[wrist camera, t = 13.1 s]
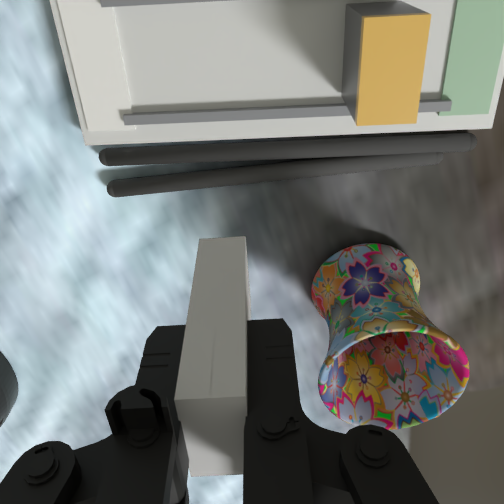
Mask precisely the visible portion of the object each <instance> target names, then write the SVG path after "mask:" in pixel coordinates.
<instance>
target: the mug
mask: <svg viewBox="0 0 504 504" xmlns="http://www.w3.org/2000/svg"><path fill="white" fill-rule="evenodd" d="M419 289H420V276H419V272H418V269H417V267H416V265H415V264H414V262H413V261H412V260H411V259H410V258H409V257H408V256H407V255H406V254H405V253H403V252H402V251H400V250H398V249H396V248H394V247H391V246H388V245H384V244H377V243H365V244H359V245H354V246H351V247H348V248H345V249H343V250H341V251H339V252H337V253H335V254H334V255H332V256H331V257H330V258H328V259H327V260H326V261H325V262H324V263H323V264H322V265H321V267H320V268H319V269H318V271H317V273H316V275H315V277H314V279H313V283H312V289H311V294H312V300H313V303H314V306H315V308H316V309H317V311H318V312H319V314H320V315H321V316H322V317H323V318H324V319H325V320H326V321H327V324H328V327H329V334H330V340H329V348H328V352H327V356H326V358H325V361H324V363H323V365H322V367H321V370H320V373H319V378H318V388H319V393H320V397H321V399H322V401H323V403H324V404H325V406H326V407H327V408H328V410H329V411H330V412H331V413H333V414H334V415H335V416H336V417H338V418H339V419H341V420H343V421H345V422H347V423H349V424H352V425H355V426H359V425H368V424H372V425H376V426H380V427H384V428H386V429H387V430H392V429H401V428H406V427H411V426H414V425H418V424H420V423H423V422H426V421H428V420H430V419H432V418H436V417H439V416H440V415H441V413H443V412H444V411H446V410H447V409H448V408H449V407H451V406H452V405H453V404H454V403H455V402H456V401H457V400H458V398H459V397H460V396H461V394H462V393H463V391H464V390H465V388H466V385H467V383H468V379H469V362H468V359H467V356H466V354H465V352H464V350H463V349H462V348H461V346H460V345H459V344H458V343H457V342H456V341H455V340H454V339H453V338H451V337H450V336H449V335H447V334H445V333H444V332H442V331H441V330H440V329H438V328H437V327H436V326H435V325H434V324H433V323H432V322H431V321H430V320H429V319H428V318H427V317H426V315H425V314H424V312H423V311H422V309H421V307H420V304H419V301H418V293H419Z"/></svg>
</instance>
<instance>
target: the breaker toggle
mask: <svg viewBox="0 0 504 504" xmlns="http://www.w3.org/2000/svg"><path fill="white" fill-rule="evenodd" d="M430 22H431V14H430V13H428V12H425V11H423V10H421V9H419V8H416V7H414V6H412V5H409V4H407V3H405V2H403V1H388V2H370V3H351V4H346V13H345V33H344V52H343V72H342V92H341V96H342V98H343V100H344V102H345V104H346V106H347V108H348V110H349V112H350V114H351V116H352V118H353V120H354V122H355V124H356V126H369V125H393V124H416V123H417V115H418V108H419V101H420V94H421V87H422V79H423V72H424V65H425V58H426V50H427V43H428V36H429V29H430Z"/></svg>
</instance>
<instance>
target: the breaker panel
mask: <svg viewBox="0 0 504 504" xmlns="http://www.w3.org/2000/svg"><path fill="white" fill-rule="evenodd" d="M49 1H50V5H51V9H52V13H53V17H54V21H55V25H56V29H57V33H58V37H59V41H60V45H61V49H62V53H63V57H64V61H65V65H66V69H67V73H68V77H69V81H70V85H71V89H72V93H73V98H74V102H75V106H76V110H77V114H78V118H79V122H80V126H81V130H82V134H83V138H84V142H85V146H87V145H111V144H135V143H158V142H182V141H205V140H229V139H253V138H276V137H300V136H323V135H347V134H371V133H394V132H418V131H441V130H465V129H489V128H492V125H493V121H494V117H495V112H496V108H497V103H498V99H499V95H500V90H501V86H502V81H503V77H504V0H49ZM388 1H403V2H405V3H407V4H409V5H412V6H414V7H416V8H419V9H421V10H423V11H425V12H428V13H430V14H431V22H430V29H429V36H428V43H427V50H426V58H425V65H424V72H423V79H422V87H421V94H420V101H419V108H418V115H417V123H416V124H393V125H369V126H356V124H355V122H354V120H353V118H352V116H351V114H350V112H349V110H348V108H347V106H346V104H345V102H344V100H343V98H342V96H341V92H342V72H343V52H344V33H345V13H346V4H351V3H370V2H388Z"/></svg>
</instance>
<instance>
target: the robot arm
mask: <svg viewBox="0 0 504 504" xmlns="http://www.w3.org/2000/svg"><path fill="white" fill-rule="evenodd" d="M17 395H18V382H17V378H16V375H15V373H14V371H13V369H12V367H11V365H10V364H9V362H8V361H7V359H6V358H5V357H4V356H3V355H2V354H1V352H0V427H1V426H2V424H3V423H4V422H5V420H6V418H7V417H8V415H9V413H10V411H11V409H12V407H13V405H14V404H15V401H16V399H17ZM105 413H106V416H107V419H108V422H109V425H110V428H111V431H112V434H111V435H110V436H108V437H107V438H105V439H103V440H101V441H99V442H96V443H94V444H91V445H88V446H85V447H82V448H79V449H76V450H72V449H71V447H70V446H69V445H68V444H65V443H63V442H61V441H48V442H45V443H42V444H39V445H36V446H34V447H33V448H31V449H29V450H28V451H26V452H25V453H24V454H23V455H22V456H21V457H20V458H19V459H18V460H17V461H16V462H15V463H14V465H13V466H12V468H11V469H10V470H9V472H8V473H7V475H6V476H5V478H4V479H3V480H2V482H1V483H0V504H189V495H188V488H187V477H188V468H189V470H190V475H191V477H196V476H218V475H239V474H243V504H439V503H438V501H437V499H436V498H435V496H434V494H433V493H432V491H431V489H430V488H429V486H428V484H427V483H426V481H425V479H424V478H423V476H422V474H421V473H420V471H419V469H418V468H417V466H416V464H415V463H414V461H413V459H412V458H411V456H410V454H409V453H408V451H407V449H406V448H405V446H404V444H403V443H402V442H401V441H400V439H399V438H398V437H397V436H396V435H395V434H394V433H392V432H391V431H389V430H387V429H386V428H384V427H380V426H376V425H372V424H368V425H359V426H357V427H355V428H352V429H350V430H349V431H348V432H347V433H346V434H343V433H339V432H335V431H331V430H327V429H325V428H322V427H320V426H318V425H316V424H315V423H313V422H312V421H311V420H310V419H309V418H308V417H307V416H306V415H305V413H304V412H303V410H302V407H301V403H300V397H299V388H298V380H297V371H296V363H295V355H294V347H293V338H292V330H291V329H290V328H289V326H288V325H287V324H286V322H285V321H284V320H283V318H282V319H263V320H251V299H250V287H249V274H248V261H247V249H246V236H242V237H225V238H208V239H199V245H198V252H197V258H196V265H195V271H194V277H193V284H192V290H191V296H190V303H189V309H188V315H187V322H186V325H173V326H157V327H156V328H155V330H154V331H153V332H152V333H151V335H150V336H149V337H148V338H147V340H146V344H145V348H144V352H143V357H142V360H141V364H140V369H139V372H138V376H137V380H136V384H135V385H134V386H130V387H128V388H126V389H124V390H122V391H120V392H118V393H117V394H116V395H115V396H114V397H113V398H112V399H111V400H110V401H109V403H108V404H107V406H106V408H105Z"/></svg>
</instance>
